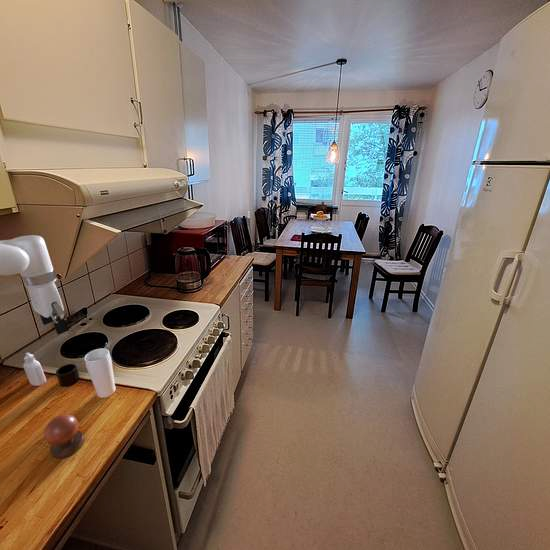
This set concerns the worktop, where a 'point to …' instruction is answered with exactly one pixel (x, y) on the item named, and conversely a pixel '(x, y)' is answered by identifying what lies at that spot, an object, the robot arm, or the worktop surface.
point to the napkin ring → (67, 375)
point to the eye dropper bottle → (33, 370)
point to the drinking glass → (101, 371)
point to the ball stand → (63, 436)
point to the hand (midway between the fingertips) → (56, 327)
